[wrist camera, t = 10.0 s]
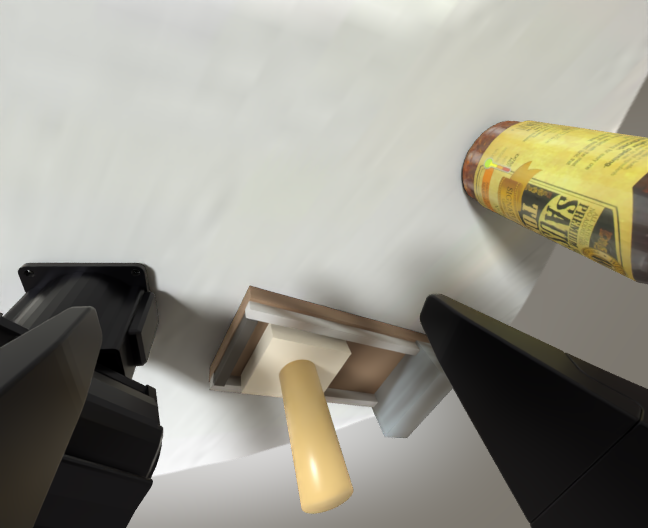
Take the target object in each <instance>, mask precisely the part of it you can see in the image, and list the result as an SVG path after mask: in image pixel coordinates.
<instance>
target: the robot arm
mask: <svg viewBox="0 0 648 528" xmlns="http://www.w3.org/2000/svg"><path fill="white" fill-rule="evenodd" d="M135 269H136V270H139V271H140V273H135V272H134V271H133V270H135ZM27 270H31V271H33V272H34V274H32V273H29V272H28V271H27ZM18 274H19V277H20V280H21V282H22V285H23V287H24V290H25V292H26V294H25V295H24V296H23V297H22V298H21V299H20V300H19V301H18V302H17V303H16V304H15V305H14V306H13V307H12V308H11V309H10V310H9V311H8V312H7V313H6V314H5V315H4V316H3V317H2V315H3V314H2V313H0V528H126V527H127V525H128V523H129V521H130V519H131V517H132V516H133V514H134V512H135V510H136V509H137V507H138V506H139V504H140V503H141V501H142V500H143V498H144V497H145V495H146V494H147V492H148V491H149V489H150V488H151V486H152V483H153V480H152V479H151V477H152V474H153V472H154V470H155V468H156V465H157V462H158V459H159V456H160V451H161V446H162V438H163V427H162V426H160V421H159V412H158V404H157V396H156V389H155V388H153V387H151V386H149V385H146V386H144V385H142V384H140V383H138V382H136V381H134V380H132V377H133V374H134V371H135V368H136V366H143V365H144V364H145V363H146V362H147V360H148V357H149V353H150V350H151V346H152V343H153V339H154V337H155V333H156V329H157V326H158V322H159V319H158V312H157V305H156V298H155V294H154V293H153V292H149V286H148V280H147V273H146V269H145V267H144V266H143V265H142V264H139V263H26V264H24V265H23V266H22V267H21V268H19V270H18ZM420 322H421V324H422V326H423V329H424V331H425V333H426V335H427V338H428V340H429V342H430V344H431V347H432V349H433V351H434V353H435V356H436V358H437V360H438V362H439V364H440V366H441V368H442V370H443V371H444V373H445V375H446V377H447V379H448V380H449V382H450V384H451V386H452V387H453V389H454V391H455V392H456V394H457V396H458V398H459V399H460V401H461V403H462V405H463V407H464V409H465V410H466V412H467V414H468V416H469V417H470V419H471V421H472V423H473V425H474V426H475V428H476V430H477V431H478V433H479V435H480V437H481V439H482V440H483V442H484V444H485V446H486V447H487V449H488V451H489V453H490V455H491V456H492V458H493V460H494V462H495V464H496V465H497V467H498V469H499V471H500V472H501V474H502V476H503V478H504V480H505V481H506V483H507V485H508V487H509V488H510V490H511V492H512V494H513V495H514V497H515V499H516V501H517V503H518V504H519V506H520V508H521V510H522V511H523V513H524V515H525V517H526V519H527V520H528V522H529V523H530V526H531V528H648V389H646V388H644V387H642V386H639V385H637V384H635V383H632V382H630V381H628V380H625V379H623V378H621V377H619V376H616V375H614V374H612V373H610V372H607V371H605V370H603V369H601V368H598V367H596V366H594V365H592V364H590V363H587V362H585V361H583V360H581V359H579V358H576V357H574V356H572V355H570V354H568V353H564V352H563V351H561V350H559V349H557V348H555V347H553V346H551V345H549V344H546V343H544V342H542V341H540V340H538V339H536V338H534V337H532V336H530V335H527V334H525V333H523V332H521V331H519V330H517V329H515V328H513V327H511V326H508V325H506V324H504V323H502V322H500V321H498V320H496V319H493V318H491V317H489V316H487V315H485V314H483V313H481V312H479V311H476V310H474V309H472V308H470V307H468V306H466V305H464V304H462V303H459V302H457V301H455V300H453V299H451V298H449V297H447V296H445V295H442V294H431V295H429V296H428V297H427V298H426V301H425V303H424V306H423V308H422V311H421V314H420Z"/></svg>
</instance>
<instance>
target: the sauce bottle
mask: <svg viewBox="0 0 648 528" xmlns="http://www.w3.org/2000/svg"><path fill="white" fill-rule="evenodd" d="M462 179H463V184H464V189H465V190H466V191H467V194H468V195H469V196H471V197H472V198H473V199H475V200H476V201H478V202H479V203H480V204H481V205H482V206H483V207H485V208H487V209H489V210H491V211H493V212H496V213H498V214H500V215H502V216H504V217H506V218H508V219H510V220H512V221H514V222H516V223H518V224H520V225H522V226H524V227H526V228H528V229H530V230H532V231H534V232H536V233H538V234H540V235H542V236H544V237H546V238H548V239H550V240H552V241H554V242H556V243H559V244H561V245H562V246H564V247H566V248H568V249H570V250H573V251H575V252H577V253H579V254H581V255H583V256H585V257H587V258H589V259H591V260H593V261H595V262H597V263H599V264H601V265H603V266H605V267H607V268H609V269H611V270H613V271H615V272H618V273H620V274H622V275H624V276H626V277H628V278H630V279H632V280H634V281H636V282H639V283H644V284H648V138H644V137H638V136H631V135H624V134H617V133H610V132H604V131H597V130H590V129H584V128H577V127H570V126H563V125H556V124H549V123H543V122H536V121H524V122H518V121H505V122H500V123H498V124H496V125H493V126H491V127H490V128H489V129H487V130H486V131H485V132H484V133H482V134H481V136H480V137H479V138H478V139H477V140H476V141H475V142H474V144H473V145H472V146H471V148H470V149H469V151H468V153H467V155H466V159H465V160H464V165H463V177H462Z"/></svg>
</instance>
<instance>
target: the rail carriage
mask: <svg viewBox="0 0 648 528" xmlns="http://www.w3.org/2000/svg"><path fill="white" fill-rule="evenodd" d="M350 355H351V351H350V349H349V347H348V345H347V343H346V340H342V339H338V338H333V337H329V336H324V335H320V334H315V333H311V332H306V331H302V330H298V329H293V328H289V327H284V326H280V325H275V324H271V323H269V324H268V326H267V328H266V329H265V331H264V333H263V335H262V337H261V339H260V341H259V342H258V344H257V346H256V348H255V350H254V352H253V353H252V355H251V357H250V359H249V361H248V363H247V364H246V366H245V368H244V370H243V372H242V374H241V392H242V394H252V395H261V396H271V397H280V398H283V403H284V409H285V414H286V420H287V426H288V432H289V438H290V443H291V449H292V455H293V461H294V466H295V472H296V478H297V484H298V489H299V495H300V501H301V507H302V510H303V511H304V512H306V513H312V514H314V513H321V512H325V511H328V510H331V509H333V508H335V507H338V506H339V505H341V504H343V503H344V502H345V501H347V500H348V499H349V498H350V496H351V495H352V493H353V487H352V484H351V481H350V477H349V474H348V471H347V468H346V464H345V461H344V458H343V454H342V451H341V448H340V445H339V442H338V438H337V435H336V432H335V428H334V425H333V422H332V419H331V415H330V412H329V409H328V406H327V402H326V399H325V396H324V392H325V390H326V389H327V387H328V386H329V385H330V383H331V382H332V380H333V379H334V378H335V376H336V375H337V373H338V372H339V370H340V369H341V368H342V366H343V365H344V363H345V362H346V360H347V359H348V358H349V356H350Z"/></svg>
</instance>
